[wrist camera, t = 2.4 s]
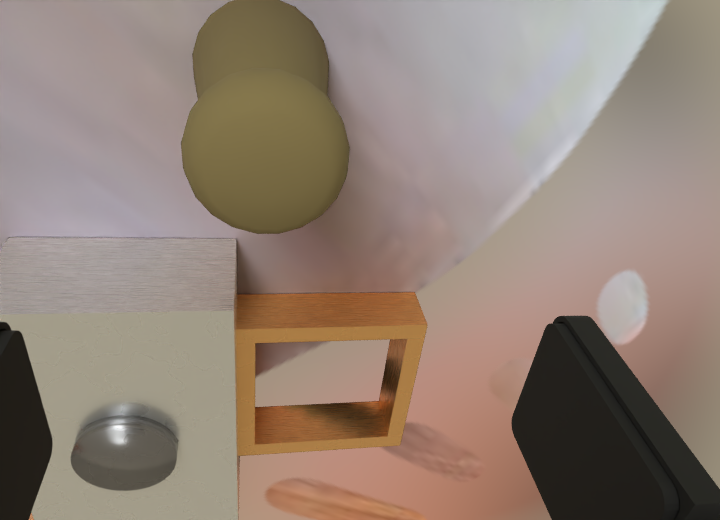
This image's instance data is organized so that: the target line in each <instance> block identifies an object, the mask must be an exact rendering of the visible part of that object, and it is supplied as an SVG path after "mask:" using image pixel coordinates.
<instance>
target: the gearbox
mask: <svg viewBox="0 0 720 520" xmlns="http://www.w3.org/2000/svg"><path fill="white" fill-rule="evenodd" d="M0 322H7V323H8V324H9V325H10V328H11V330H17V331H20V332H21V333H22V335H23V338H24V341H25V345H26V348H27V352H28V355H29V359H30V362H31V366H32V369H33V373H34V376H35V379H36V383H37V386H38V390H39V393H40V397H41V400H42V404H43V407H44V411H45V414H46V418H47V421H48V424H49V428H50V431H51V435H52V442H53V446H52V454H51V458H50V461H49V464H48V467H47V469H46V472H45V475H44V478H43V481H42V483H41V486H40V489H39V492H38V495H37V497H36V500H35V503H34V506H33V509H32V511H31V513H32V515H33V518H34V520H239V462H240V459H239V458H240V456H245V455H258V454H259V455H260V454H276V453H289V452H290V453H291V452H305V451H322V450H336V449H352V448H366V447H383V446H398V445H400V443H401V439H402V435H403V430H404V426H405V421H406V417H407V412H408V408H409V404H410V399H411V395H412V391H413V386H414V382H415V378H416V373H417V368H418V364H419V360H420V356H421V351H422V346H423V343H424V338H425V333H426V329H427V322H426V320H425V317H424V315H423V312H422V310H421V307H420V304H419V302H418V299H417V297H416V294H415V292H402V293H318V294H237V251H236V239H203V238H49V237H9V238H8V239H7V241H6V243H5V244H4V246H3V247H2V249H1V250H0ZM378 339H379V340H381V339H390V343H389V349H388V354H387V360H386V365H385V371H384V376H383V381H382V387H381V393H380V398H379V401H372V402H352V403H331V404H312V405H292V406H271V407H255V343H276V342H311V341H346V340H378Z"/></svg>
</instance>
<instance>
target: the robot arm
mask: <svg viewBox="0 0 720 520" xmlns="http://www.w3.org/2000/svg"><path fill="white" fill-rule="evenodd" d="M512 430H513V434H514V437H515V439H516V441H517V443H518V445H519V448H520V450H521V452H522V454H523V457H524V459H525V461H526V463H527V466H528V468H529V470H530V472H531V474H532V477H533V479H534V481H535V483H536V485H537V488H538V490H539V492H540V494H541V496H542V499H543V501H544V503H545V505H546V508H547V510H548V512H549V514H550V516H551V518H552V520H720V489H719V488H718V486H717V485H716V484H715V482H714V481H713V480H712V478H711V477H710V476H709V474H708V473H707V472H706V470H705V469H704V468H703V466H702V465H701V464H700V462H699V461H698V460H697V458H696V457H695V456H694V454H693V453H692V452H691V450H690V449H689V448H688V446H687V445H686V443H685V442H684V441H683V439H682V438H681V437H680V436H679V434H678V433H677V431H676V430H675V429H674V427H673V426H672V425H671V424H670V422H669V421H668V419H667V418H666V417H665V415H664V414H663V413H662V411H661V410H660V409H659V407H658V406H657V405H656V403H655V402H654V401H653V399H652V398H651V397H650V395H649V394H648V393H647V391H646V390H645V389H644V387H643V386H642V385H641V383H640V382H639V381H638V379H637V378H636V377H635V375H634V374H633V373H632V371H631V370H630V369H629V367H628V366H627V365H626V363H625V362H624V360H623V359H622V358H621V356H620V355H619V354H618V352H617V351H616V350H615V348H614V347H613V346H612V344H611V343H610V342H609V340H608V339H607V338H606V336H605V335H604V334H603V332H602V331H601V330H600V328H599V327H598V326H597V324H596V323H595V322H594V321H593V319H592V318H590V317H588V316H559V317H557V318H556V319H555V320H554V322H553V324H548V325H547V326H546V328H545V330H544V333H543V336H542V339H541V341H540V344H539V346H538V349H537V352H536V354H535V357H534V360H533V363H532V365H531V368H530V371H529V373H528V376H527V379H526V381H525V384H524V387H523V389H522V392H521V395H520V397H519V400H518V403H517V405H516V408H515V411H514V413H513V417H512ZM52 446H53V442H52V435H51V431H50V428H49V424H48V421H47V418H46V414H45V411H44V407H43V404H42V400H41V397H40V393H39V390H38V386H37V383H36V379H35V376H34V373H33V369H32V366H31V362H30V359H29V355H28V352H27V348H26V345H25V341H24V338H23V335H22V333H21V332H20V331H17V330H11V328H10V325H9V324H8V323H7V322H0V520H29V517H30V514H31V511H32V509H33V506H34V503H35V500H36V497H37V495H38V492H39V489H40V486H41V483H42V481H43V478H44V475H45V472H46V469H47V467H48V464H49V461H50V458H51V454H52Z"/></svg>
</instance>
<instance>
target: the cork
mask: <svg viewBox="0 0 720 520" xmlns="http://www.w3.org/2000/svg"><path fill="white" fill-rule="evenodd" d="M192 55H193V70H194V79H195V85H196V91H197V96H198V101H197V102H196V104H195V105H194V107H193V108H192V109H191V111H190V113H189V116H188V120H187V123H186V127H185V130H184V134H183V138H182V141H181V149H182V161H183V169H184V172H185V174H186V177H187V179H188V181H189V183H190V186H191V188H192V190H193V192H194V194H195V197H196V198H197V199H198V200H199V201H200V202H201V203H202V204H203V206H204V207H205V208H206V209H207V210H208V211H209V212H210V213H211V214H212V215H213V216H215V217H217V218H218V219H220V220H222V221H223V222H225V223H227V224H228V225H230V226H232V227H235V228H238V229H242V230H246V231H249V232H253V233H257V234H279V233H283V232H286V231H290V230H294V229H297V228H301V227H303V226H304V225H306V224H308V223H309V222H311V221H313V220H314V219H316V218H318V217H319V216H321V215H322V214H323V213H324V212H325V211H326V210H327V209H328V208H329V206H330V205H331V204H332V203H333V202H334V201H335V200H336V199H337V197H338V195H339V192H340V190H341V188H342V186H343V183H344V181H345V179H346V176H347V171H348V161H349V150H350V147H349V143H348V139H347V135H346V131H345V127H344V123H343V121H342V118H341V116H340V115H339V113H338V112H337V110H336V109H335V107H334V106H333V104H332V102H331V101H330V99H329V98H328V96H327V90H328V70H329V60H328V56H327V52H326V48H325V44H324V41H323V39H322V37H321V36H320V34H319V32H318V31H317V29H316V27H315V26H314V24H313V23H312V21H311V20H309V19H308V18H307V17H306V16H305V15H304V14H303V13H301V12H300V11H299V10H298V9H297V8H296V7H294V6H292V5H289V4H287V3H285V2H282V1H280V0H234V1H231V2H228V3H227V4H225V5H224V6H223V7H221V8H220V9H218V10H217V11H215V12H214V13H213V14H211V15H210V17H209V18H208V19H207V21H206V22H205V24H204V25H203V27H202V28H201V30H200V31H199V33H198V36H197V39H196V43H195V47H194V50H193V54H192Z"/></svg>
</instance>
